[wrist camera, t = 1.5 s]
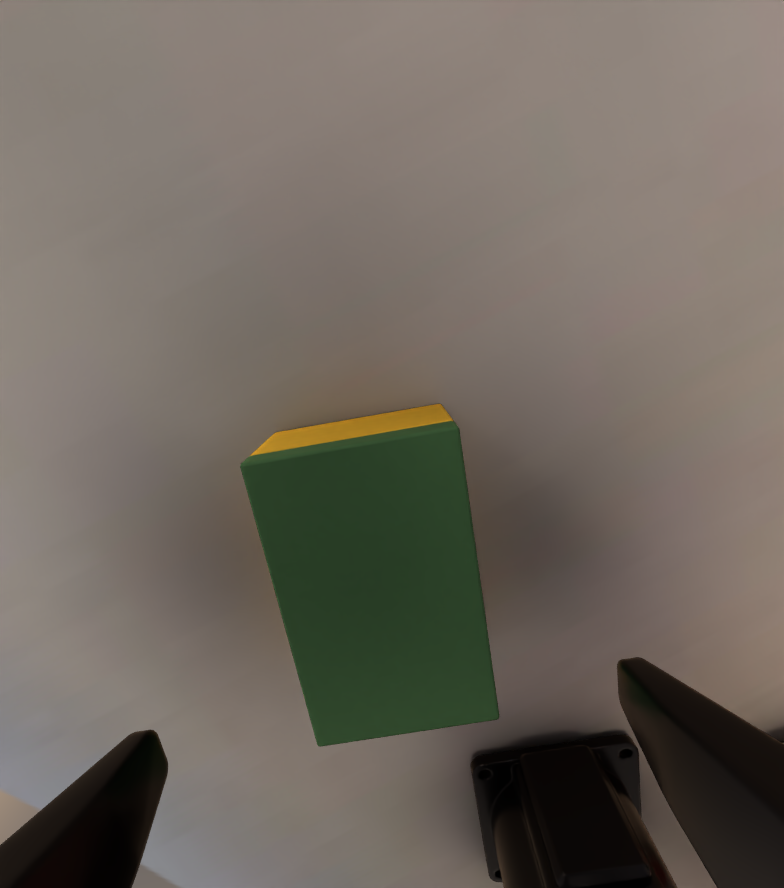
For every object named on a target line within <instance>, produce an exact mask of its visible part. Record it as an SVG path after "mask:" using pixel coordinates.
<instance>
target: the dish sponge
mask: <svg viewBox="0 0 784 888" xmlns="http://www.w3.org/2000/svg"><path fill="white" fill-rule="evenodd" d="M240 467H241V471H242V474H243V478H244V482H245V485H246V489H247V492H248V496H249V500H250V503H251V507H252V511H253V514H254V518H255V521H256V525H257V529H258V532H259V536H260V539H261V543H262V547H263V550H264V554H265V557H266V561H267V565H268V568H269V572H270V575H271V579H272V583H273V586H274V590H275V593H276V597H277V601H278V604H279V608H280V611H281V615H282V619H283V622H284V626H285V629H286V633H287V637H288V640H289V644H290V648H291V651H292V655H293V658H294V662H295V666H296V669H297V673H298V676H299V680H300V684H301V687H302V691H303V694H304V698H305V702H306V705H307V709H308V712H309V716H310V720H311V723H312V727H313V730H314V734H315V738H316V741H317V745H318V746H327V745H334V744H340V743H347V742H353V741H360V740H366V739H373V738H380V737H386V736H393V735H399V734H406V733H412V732H419V731H425V730H432V729H439V728H445V727H452V726H458V725H465V724H471V723H478V722H485V721H491V720H497V719H499V710H498V703H497V696H496V688H495V681H494V674H493V667H492V660H491V653H490V645H489V638H488V631H487V624H486V617H485V610H484V603H483V595H482V588H481V581H480V574H479V567H478V560H477V553H476V545H475V538H474V531H473V524H472V517H471V510H470V502H469V495H468V488H467V481H466V474H465V467H464V460H463V452H462V445H461V438H460V431H459V428H458V426H457V425H456V423H455V422H454V421H453V419H452V418H451V417H450V415H449V414H448V413H447V411H446V410H445V409H444V407H443V406H442V405H441V404H435V405H429V406H423V407H418V408H412V409H406V410H401V411H395V412H389V413H383V414H378V415H372V416H366V417H361V418H355V419H349V420H344V421H338V422H332V423H327V424H321V425H315V426H310V427H304V428H298V429H292V430H287V431H281V432H276V433H274V434H273V435H272V436H271V437H270V438H269V439H268V440H266V441H265V442H264V443H263V444H262V445H261V446H260V447H259V448H258V449H257V450H255V451H254V452H253V453H252V454H251V455H250V456H249V457H248V458H247V459H246V460H245V461H244V462H243V463H241V466H240Z"/></svg>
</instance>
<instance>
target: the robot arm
mask: <svg viewBox="0 0 784 888" xmlns="http://www.w3.org/2000/svg"><path fill="white" fill-rule="evenodd" d="M617 675H618V694H619V700H620V704H621V706H622V709H623V711H624V713H625V715H626V718H627V720H628V722H629V724H630V726H631V728H632V730H633V732H634V734H635V736H636V738H637V741H638V743H639V745H640V747H641V749H642V751H643V753H644V755H645V757H646V759H647V761H648V764H649V766H650V768H651V770H652V772H653V774H654V776H655V778H656V780H657V782H658V785H659V787H660V789H661V791H662V793H663V795H664V797H665V799H666V801H667V802H668V804H669V806H670V808H671V810H672V811H673V813H674V815H675V817H676V818H677V820H678V822H679V824H680V825H681V827H682V829H683V830H684V832H685V834H686V835H687V837H688V839H689V841H690V842H691V844H692V846H693V847H694V849H695V851H696V852H697V854H698V856H699V857H700V859H701V861H702V863H703V864H704V866H705V868H706V869H707V871H708V873H709V874H710V876H711V878H712V880H713V881H714V883H715V885H716V886H717V888H784V744H783V743H781V742H779V741H778V740H776V739H774V738H773V737H771V736H769V735H768V734H766V733H764V732H763V731H761V730H760V729H758V728H756V727H755V726H753V725H751V724H750V723H748V722H746V721H745V720H743V719H742V718H740V717H738V716H737V715H735V714H733V713H732V712H730V711H728V710H727V709H725V708H723V707H722V706H720V705H719V704H717V703H715V702H714V701H712V700H710V699H709V698H707V697H705V696H704V695H702V694H700V693H699V692H697V691H696V690H694V689H692V688H691V687H689V686H687V685H686V684H684V683H682V682H681V681H679V680H678V679H676V678H674V677H673V676H671V675H669V674H668V673H666V672H664V671H663V670H661V669H659V668H658V667H656V666H655V665H653V664H651V663H650V662H648V661H646V660H645V659H643V658H640V657H635V658H628V659H622V660H620V661H619V662H618V664H617ZM471 772H472V778H473V784H474V790H475V796H476V802H477V808H478V814H479V820H480V826H481V832H482V838H483V844H484V850H485V856H486V862H487V867H488V873H489V876H490V878H491V879H492V880H493V881H496V882H503V887H504V888H677V886H676V884H675V882H674V880H673V878H672V876H671V874H670V873H669V871H668V869H667V867H666V865H665V863H664V861H663V859H662V857H661V855H660V853H659V852H658V850H657V848H656V846H655V844H654V842H653V840H652V838H651V836H650V834H649V832H648V831H647V829H646V827H645V825H644V823H643V821H642V819H641V799H640V774H639V752H638V748H637V747H636V745H635V743H634V742H633V740H632V739H631V738H630V737H629V736H627V735H613V736H607V737H600V738H593V739H587V740H580V741H573V742H567V743H560V744H553V745H547V746H540V747H533V748H527V749H520V750H513V751H507V752H500V753H493V754H487V755H481V756H478V757H476V758H474V759H473V760H472V762H471ZM167 773H168V761H167V758H166V755H165V753H164V750H163V747H162V745H161V742H160V739H159V737H158V734H157V733H156V732H155V731H154V730H145V731H138V732H134V733H132V734H130V735H129V736H127V737H126V738H125V739H124V740H123V741H121V742H120V743H119V744H118V745H117V746H116V747H114V748H113V749H112V750H111V751H110V752H109V753H107V754H106V755H105V756H104V757H103V758H102V759H100V760H99V761H98V762H97V763H96V764H95V765H93V766H92V767H91V768H90V769H89V770H88V771H86V772H85V773H84V774H83V775H82V776H81V777H79V778H78V779H77V780H76V781H75V782H74V783H72V784H71V785H70V786H69V787H68V788H67V789H65V790H64V791H63V792H62V793H61V794H60V795H58V796H57V797H56V798H55V799H54V800H53V801H51V802H50V803H49V804H48V805H47V806H46V807H44V808H43V809H42V810H41V811H40V812H38V813H37V814H36V815H35V816H34V817H33V818H31V819H30V820H29V821H28V822H27V823H26V824H24V825H23V826H22V827H21V828H20V829H19V830H17V831H16V832H15V833H14V834H13V835H12V836H11V837H9V838H8V839H7V840H6V841H5V842H3V843H2V844H1V845H0V888H132V885H133V882H134V880H135V877H136V874H137V871H138V868H139V865H140V862H141V859H142V856H143V853H144V850H145V846H146V843H147V840H148V837H149V833H150V830H151V827H152V823H153V820H154V817H155V814H156V810H157V807H158V804H159V801H160V797H161V794H162V791H163V788H164V784H165V781H166V778H167Z"/></svg>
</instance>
